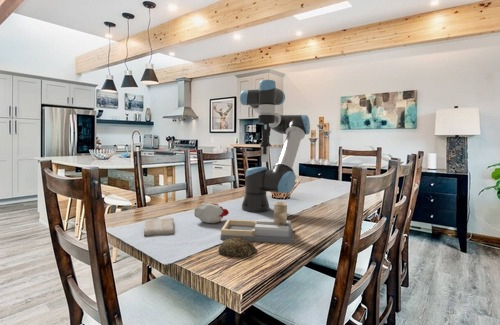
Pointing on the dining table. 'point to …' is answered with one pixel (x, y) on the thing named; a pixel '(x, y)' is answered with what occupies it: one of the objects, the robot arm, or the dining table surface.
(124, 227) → the dining table surface
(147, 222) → the washcloth
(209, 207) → the white and red figurine
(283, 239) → the keyhole board
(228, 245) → the bread roll
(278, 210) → the maple peg
